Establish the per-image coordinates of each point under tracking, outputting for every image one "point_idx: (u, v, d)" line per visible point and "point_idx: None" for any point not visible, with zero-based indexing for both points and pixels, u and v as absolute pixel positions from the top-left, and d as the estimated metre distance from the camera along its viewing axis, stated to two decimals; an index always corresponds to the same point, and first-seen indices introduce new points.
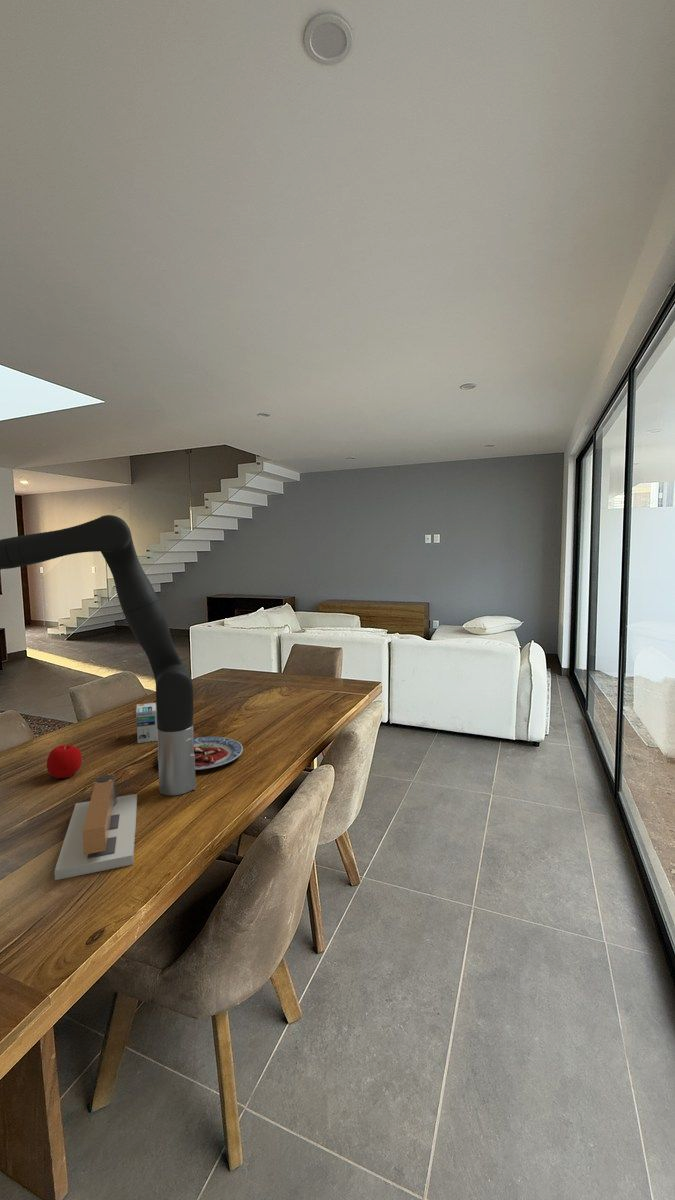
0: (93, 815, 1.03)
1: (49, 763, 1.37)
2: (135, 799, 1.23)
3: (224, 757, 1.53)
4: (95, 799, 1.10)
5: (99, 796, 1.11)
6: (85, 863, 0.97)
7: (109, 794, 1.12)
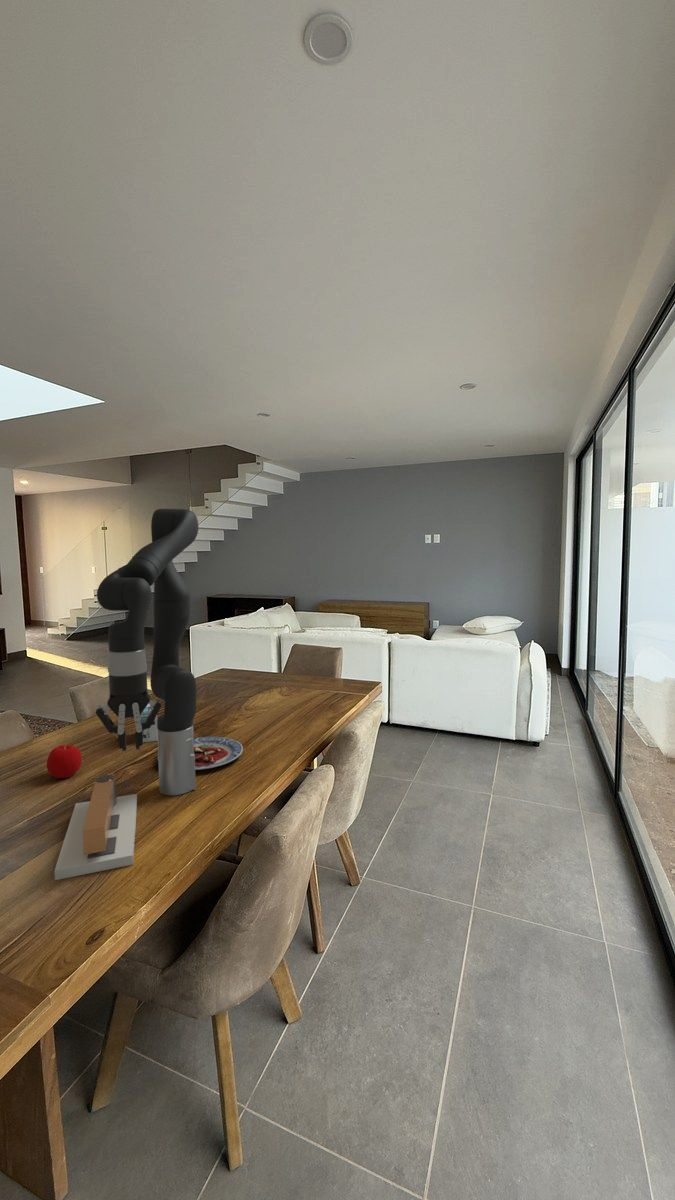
0: (93, 815, 1.03)
1: (49, 763, 1.37)
2: (135, 799, 1.23)
3: (224, 757, 1.53)
4: (95, 799, 1.10)
5: (99, 796, 1.11)
6: (85, 863, 0.97)
7: (109, 794, 1.12)
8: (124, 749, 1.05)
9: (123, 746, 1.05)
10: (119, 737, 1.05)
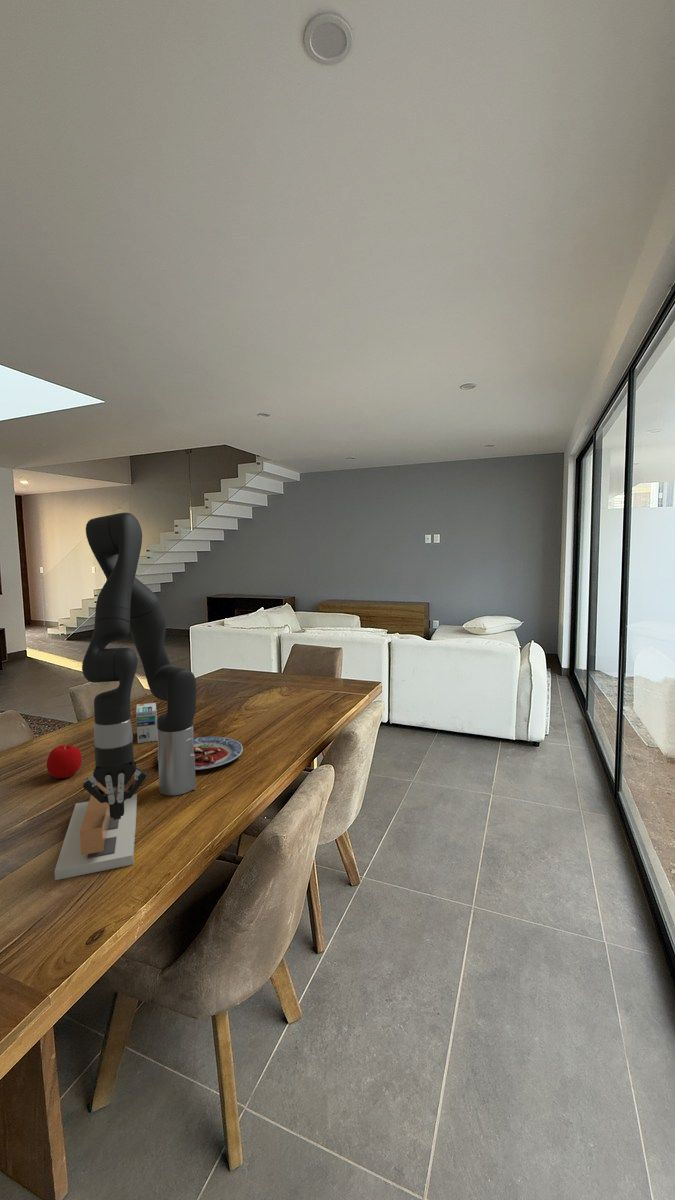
0: (91, 815, 1.03)
1: (49, 763, 1.37)
2: (135, 799, 1.23)
3: (224, 757, 1.53)
4: (94, 799, 1.10)
5: None
6: (85, 863, 0.97)
7: None
8: (115, 818, 1.05)
9: (114, 815, 1.05)
10: (110, 806, 1.05)
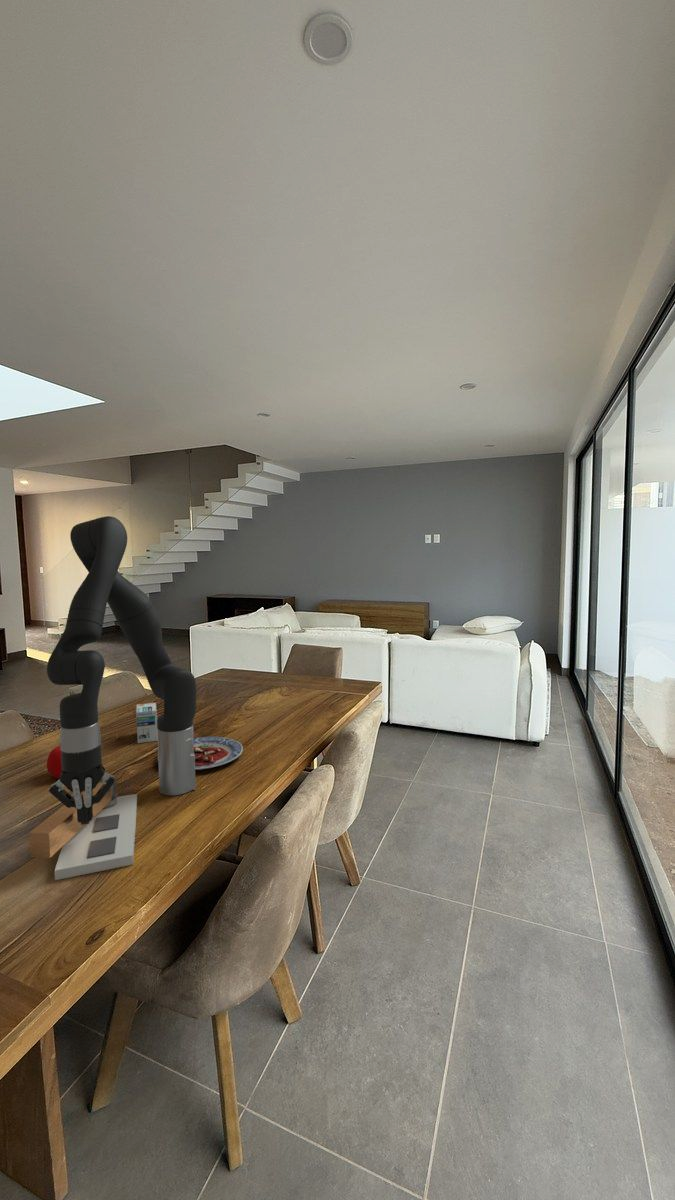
0: (54, 817, 1.02)
1: (49, 763, 1.37)
2: (135, 799, 1.23)
3: (224, 757, 1.53)
4: None
5: None
6: (85, 863, 0.97)
7: None
8: (83, 823, 1.04)
9: (82, 820, 1.04)
10: (78, 811, 1.04)
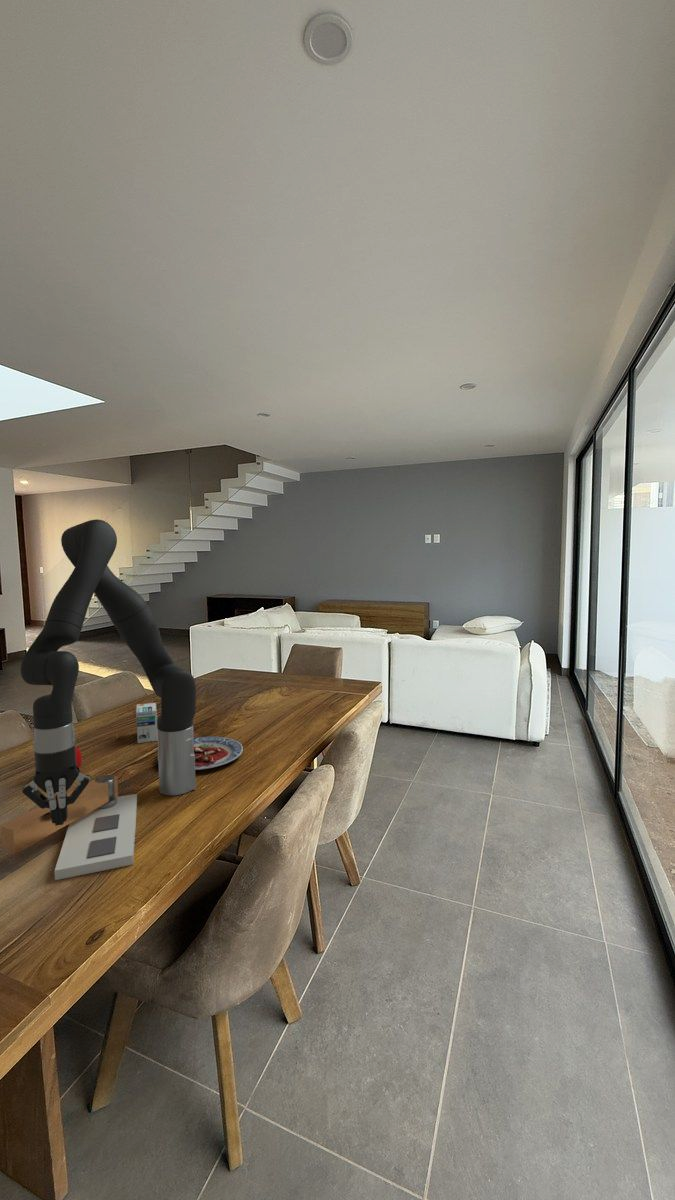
0: (32, 813, 1.04)
1: None
2: (135, 799, 1.23)
3: (224, 757, 1.53)
4: None
5: None
6: (85, 863, 0.97)
7: None
8: (57, 824, 1.04)
9: (56, 821, 1.03)
10: (52, 812, 1.03)
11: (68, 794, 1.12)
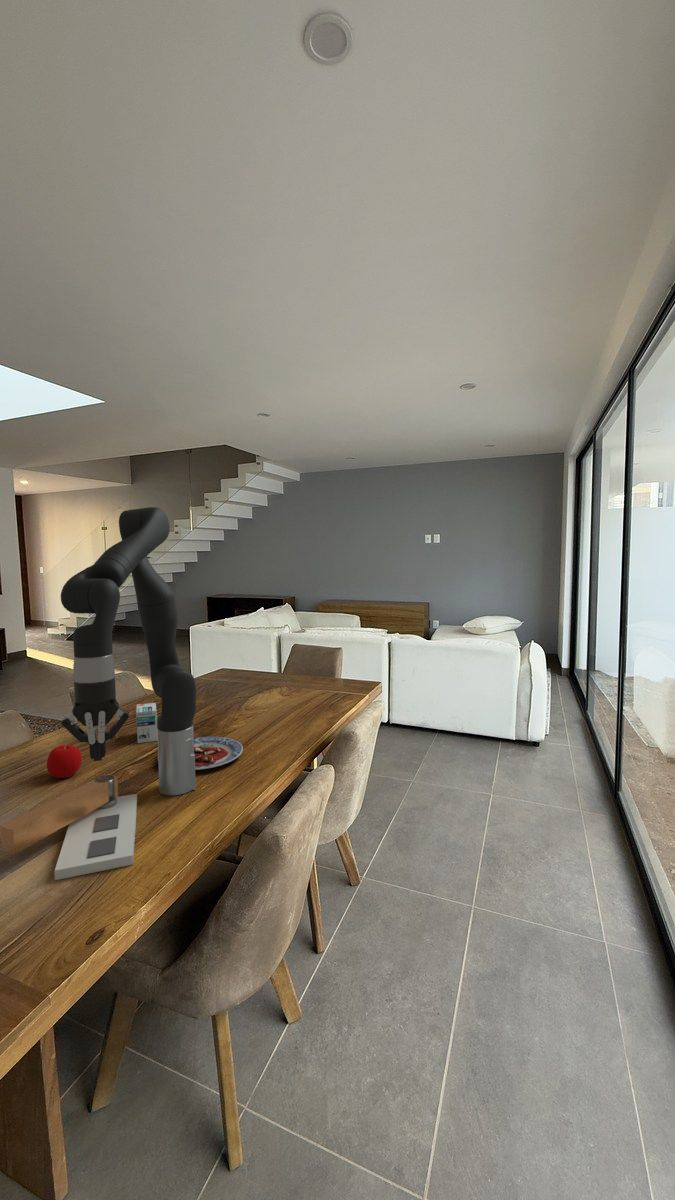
0: (32, 813, 1.04)
1: (49, 763, 1.37)
2: (135, 799, 1.23)
3: (224, 757, 1.53)
4: (62, 797, 1.11)
5: (70, 795, 1.12)
6: (85, 863, 0.97)
7: (76, 797, 1.11)
8: (96, 759, 1.00)
9: (95, 756, 1.00)
10: (90, 747, 1.00)
11: (68, 794, 1.12)
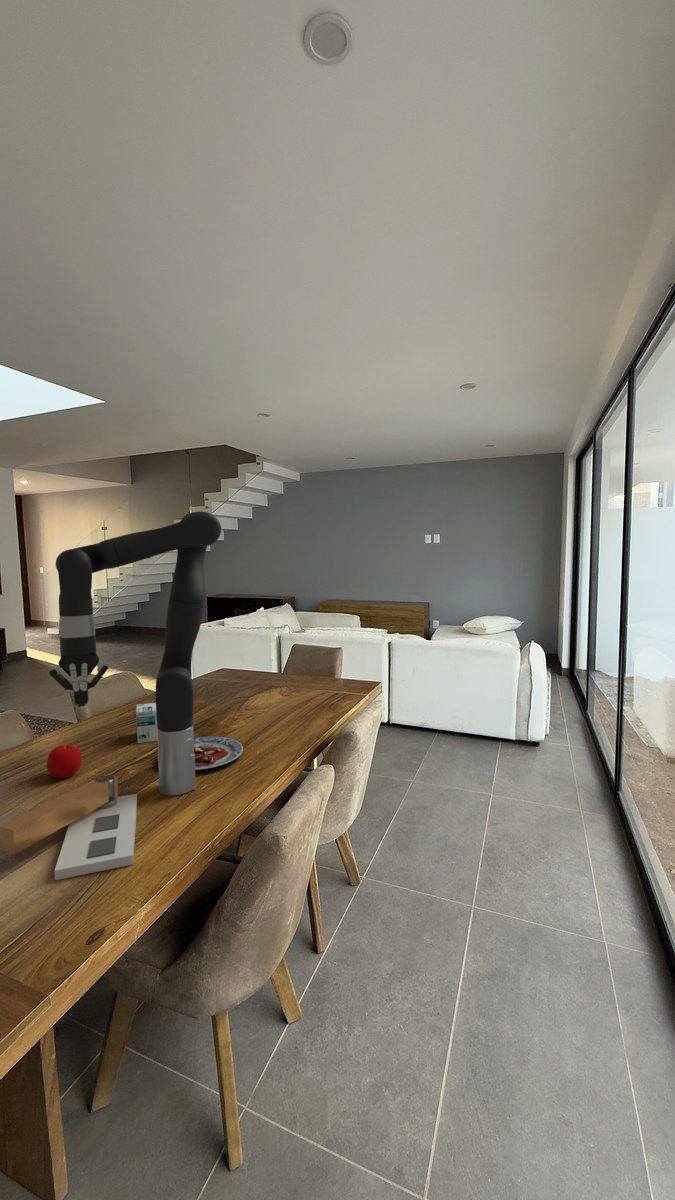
0: (32, 813, 1.04)
1: (49, 763, 1.37)
2: (135, 799, 1.23)
3: (224, 757, 1.53)
4: (62, 797, 1.11)
5: (70, 795, 1.12)
6: (85, 863, 0.97)
7: (76, 797, 1.11)
8: (80, 705, 1.16)
9: (79, 702, 1.16)
10: (75, 694, 1.16)
11: (68, 794, 1.12)
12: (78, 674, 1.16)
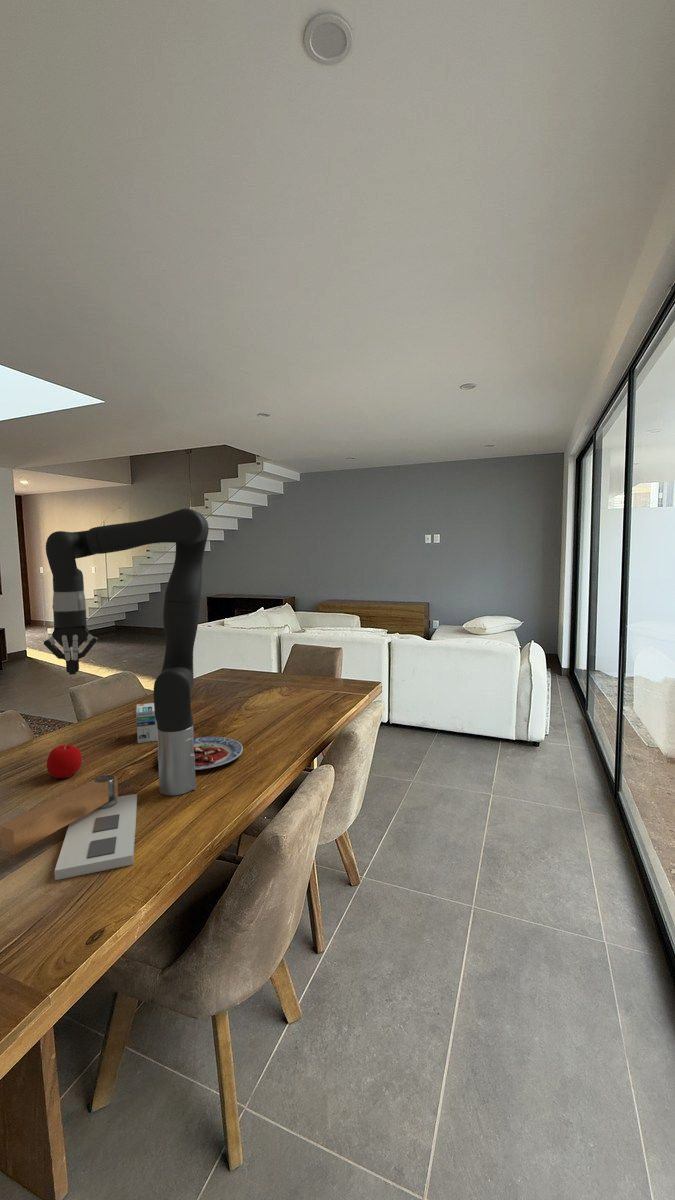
0: (32, 813, 1.04)
1: (49, 763, 1.37)
2: (135, 799, 1.23)
3: (224, 757, 1.53)
4: (62, 797, 1.11)
5: (70, 795, 1.12)
6: (85, 863, 0.97)
7: (76, 797, 1.11)
8: (71, 673, 1.28)
9: (70, 670, 1.28)
10: (66, 663, 1.28)
11: (68, 794, 1.12)
12: (69, 645, 1.28)
